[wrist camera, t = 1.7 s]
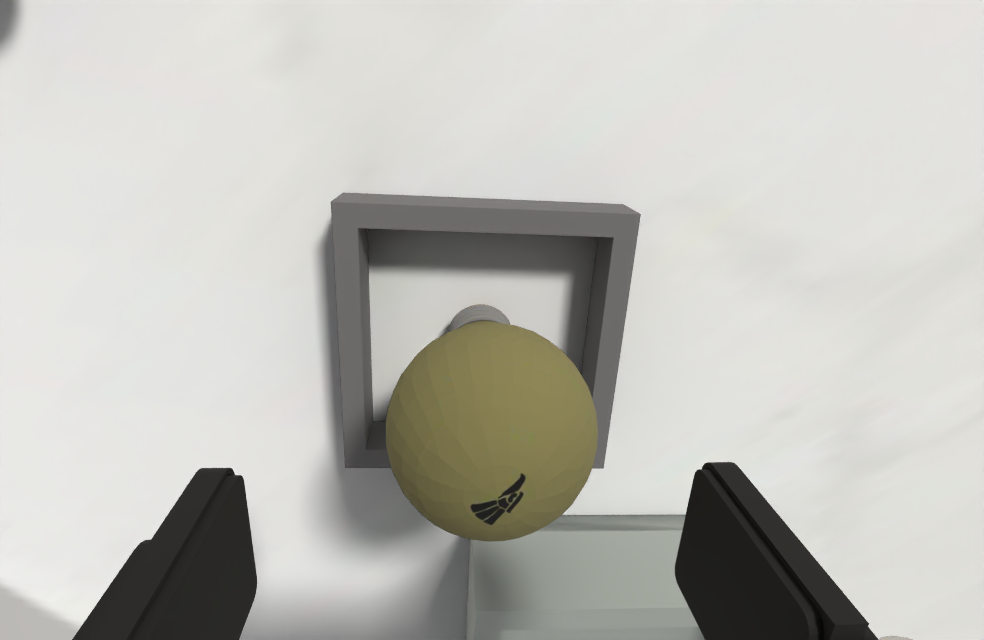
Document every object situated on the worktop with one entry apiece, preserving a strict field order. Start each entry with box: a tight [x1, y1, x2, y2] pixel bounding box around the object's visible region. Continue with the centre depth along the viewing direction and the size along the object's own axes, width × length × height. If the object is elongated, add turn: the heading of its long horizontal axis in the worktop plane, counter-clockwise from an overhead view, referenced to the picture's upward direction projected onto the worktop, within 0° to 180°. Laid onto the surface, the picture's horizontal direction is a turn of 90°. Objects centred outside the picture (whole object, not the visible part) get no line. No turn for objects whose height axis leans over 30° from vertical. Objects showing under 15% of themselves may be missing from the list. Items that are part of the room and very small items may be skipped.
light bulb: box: [386, 304, 598, 542], centre depth 17 cm, size 6×6×10 cm
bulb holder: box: [331, 193, 641, 468], centre depth 20 cm, size 10×10×2 cm
